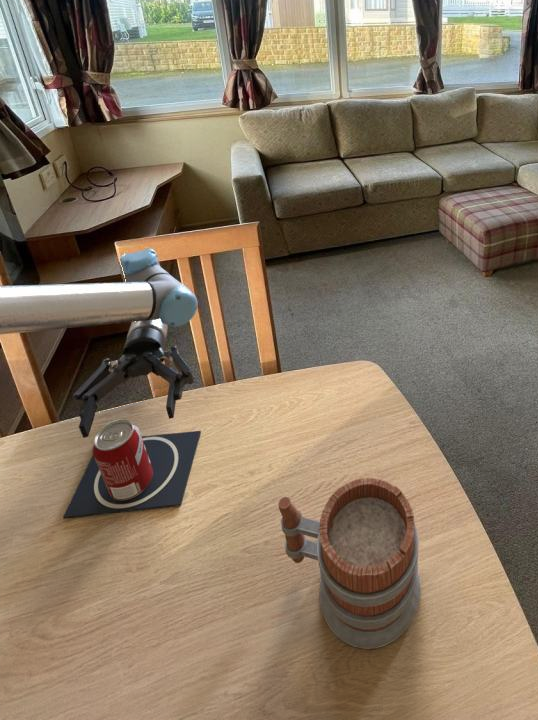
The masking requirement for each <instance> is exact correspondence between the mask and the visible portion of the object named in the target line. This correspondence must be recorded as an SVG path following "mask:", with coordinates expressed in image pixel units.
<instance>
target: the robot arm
mask: <svg viewBox="0 0 538 720" xmlns="http://www.w3.org/2000/svg"><path fill="white" fill-rule="evenodd" d="M123 254H124V255H123ZM123 254H122V255H121V256H120V258H119V259H120V261H121V265H122V267H123V271H124V274H125V278H124V275H123V271H122V267H121V265H120V262H119V261H118V266H119V271H120V275H121V278H122V282H95V283H94V282H91V283H61V284H60V283H58V284H54V283H53V284H25V285H0V335H1V336H2V335H10V334H21V333H32V332H41V331H43V332H44V331H51V330H52V331H53V330H61V329H63V330H64V329H73V328H81V327H82V328H83V327H93V326H102V325H103V326H104V325H112V324H125V323H130V326H129V329H128V332H127V335H126V339H125V342H124V346H123V350H122V354H121V357H120V358H119V359H117V360H111V359H110V358H109V357H107V358H104V359H103V360H102V362H101V364H100V366H99V367H98V369H96V370H95V371H94V372H93V373H92V374H91V376H90V377H89V378H88V379H87V380H86V381H85V382H84V383H83V384H82V385H81V386H80V387H79V388H78V389H77V390H76V391H75V392H74V393H73V394H72V396H71V397H72V399H73V401H74V403H75V406H76V408H79V409H78V416H79V419H80V422H79V424H78V428H79V431H80V433H81V435H82V438H83V439H84V438H88V437H89V435H90V432H91V430H92V425H93V422H94V420H95V416H96V413H97V409H98V405H97V403H98V402H99V401H101V400H102V399H103V398H104V397H106V396H107V395H108V394H109V393H110V392H112V391H113V390H114V389H115V388H117V387H118V386H119V385H120V384H125V383H126V382H127V381H128V380H129V379H134V378H138V377H139V376H148V375H150V374H153V375H155V376H156V377H160V378H162V379H163V380H165V381H166V382H168V383H169V384H168V392H167V397H166V398H167V399H166V403H165V409H166V414H167V417H168V419H174V417H175V411H176V404H177V401H180V400H182V397H183V391H184V387H185V386H186V385H193V384H194V382H195V379H194V375H193V372H192V370H191V368H190V367H189V365H188V364H187V363H186V361H185V360H184V359H183V358H182V356H181V355H180V352H179V348H178V345H173V346H171V347H170V350H166V351H165V347H166V342H167V341H166V340H167V336H168V330H169V327H173V328H178V327H182V326H184V325H185V324H188V322H190V321H191V320H192V319H193V318H194V316H195V315H196V313H197V310H198V303H199V302H198V299H197V297H196V295H195V294H194V293H193V292H192V291H191V290H190V288H189V287H187V286H186V285H184V284H183V283H182V282H180V281H179V280H177V278H175V277H173V275H171V274H170V273H169V272H168V271H167V270H165V269H164V268H162V266H161V265H160V259H159V258H158V255H157V252H156V250H154V249H153V248H150V249H146V250H143V251H139V252H135V253H129V254H125V253H123ZM157 259H159V260H157ZM157 261H159V262H157ZM125 279H126V282H125ZM135 321H136V322H135ZM165 360H168V361H170V362H171V363H173V365H174V367H175V368H176V369H177V371H178V372H177V371H176V370H174V369H173V368H171V367H170V366H168V365H166V364H165V363H163V362H164V361H165Z"/></svg>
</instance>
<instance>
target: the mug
mask: <svg viewBox="0 0 538 720" xmlns="http://www.w3.org/2000/svg"><path fill="white" fill-rule="evenodd" d="M277 506H278V510H279V511H280V515H281V519H280V525H281V530H282V533H283V534H284V537H285V538H284V539H285V542H284V550H285V554H286V555H287V557H288V558H290V559H291V560H292V561H293V562H294V563H295V564H300V563H302V562H303V561H304V559H305V558H308V559H311V560H315V561H318V567H319V575H320V577H319V578H320V580H319V588H318V589H319V590H318V591H319V592H318V595H319V606H320V608H321V612H322V616H323V618H324V620H325V622H326V624H327V626H328V627H329V629H330V630H331V631H332V633H334V635H335V636H337V637H338V638H339V639H340V640H341V641H342V642H344V643H346V644H348V645H350V646H352V647H354V648H360V649H364V650H367V649H378V648H381V647H384V646H388V645H389V644H391V643H392V642H394V641H396V640H398V638H400V636H402V635H403V634H404V633H405V632H406V631H407V629H408V628H409V626H410V625H411V624H412V622H413V620H414V618H415V615H416V614H417V612H418V608H419V604H420V600H421V589H422V588H421V577H420V574H419V564H418V559H419V558H418V557H419V533H418V529H417V525H416V522H415V516H414V512H413V508H412V506H411V504H410V502H409V500H408V498H407V497H406V495H404V494H403V491H402V490H401V489H400V488H399V487H398V486H396V485H393V484H391V483H389V482H388V481H385V480H382V479H378V478H374V477H363V478H358V479H356V480H352V481H350V482H347V483H346V484H344V485H342V486H341V487H338V488H337V489H336V490H335V491H334V492H333V493H332V494H331V495H330V497H329V498H328V500H327V501H326V503H325V506H324V507H323V508H322V512H321V516H320V519H319V520H316V519H312V518H309V517H306V516H303V513H302V512H301V510H299V509H297V508H296V505H295V503H294V504H293V502H291V499H290V498H289V497H288V496H283V497H281V498H280V499H279V501H278V505H277ZM306 537H310V538H314V539H317V541H314V540H312V539H307V538H306Z"/></svg>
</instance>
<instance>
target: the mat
mask: <svg viewBox="0 0 538 720" xmlns="http://www.w3.org/2000/svg"><path fill="white" fill-rule="evenodd" d="M201 433H202V431H201V430H194V431H183V432H182V431H181V432H173V433H163V434H151V435H141V436H142V439H143V442H144V445H145V448H146V451H147V454H148V457H149V460H150V463H151V466H152V469H153V477H152V480H151V482H150V484H149V485H148V487H147V488H146V489H145V490H144V491H143V492H142V493H140V494H139V495H137V496H136V497H134V498H131V499H128V500H115V499H113V498H112V497H111V496H110V494H109V492H108V489H107V487H106V484H105V482H104V480H103V477H102V475H101V472H100V470H99V467H98V465H97V463H96V460H95V458H94V455H93V454H92V456H91V458H90V460H89V462H88V464H87V466H86V468H85V470H84V473H83V474H82V476H81V478H80V481H79V482H78V484H77V487H76V489H75V490H74V493H73V494H72V497H71V499H70V502H69V503H68V506H67V508H66V510H65V511H64V514H63V515H62V519H64V520H65V519H72V518H81V517H82V518H83V517H90V516H99V515H101V516H102V515H108V514H119V513H127V512H128V513H129V512H135V511H146V510H153V509H155V510H156V509H163V508H172V507H181V506H182V503H183V499H184V496H185V492H186V488H187V484H188V480H189V477H190V475H191V471H192V467H193V462H194V460H195V455H196V453H197V452H196V451H197V448H198V444H199V440H200V438H201Z"/></svg>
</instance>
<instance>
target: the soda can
mask: <svg viewBox="0 0 538 720" xmlns="http://www.w3.org/2000/svg"><path fill="white" fill-rule="evenodd" d="M142 436H143V435H142V434H141V431H140V429H139V428H138V426H137V425H135V424H133V422H132V421H130V420H128V419H123V418H122V419H121V418H120V419H116V420H113V421H111V422H108V423H107V424H105V425H104V426H102V427H101V428H100V429H99V430H98V431H97V432H96V434H95V436H94V438H93V446H92V456H93V455H94V458H95V460H96V463H97V465H98V467H99V470H100V472H101V475H102V477H103V480H104V482H105V484H106V487H107V489H108V492H109V494H110V496H111V497H112V498H113V499H115V500H128V499H131V498H134V497H136V496H137V495H139V494H140V493H142V492H143V491H144V490H145V489H146V488H147V487H148V485H149V484H150V482H151V480H152V477H153V469H152V466H151V463H150V460H149V457H148V454H147V451H146V448H145V445H144V442H143V439H142Z"/></svg>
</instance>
